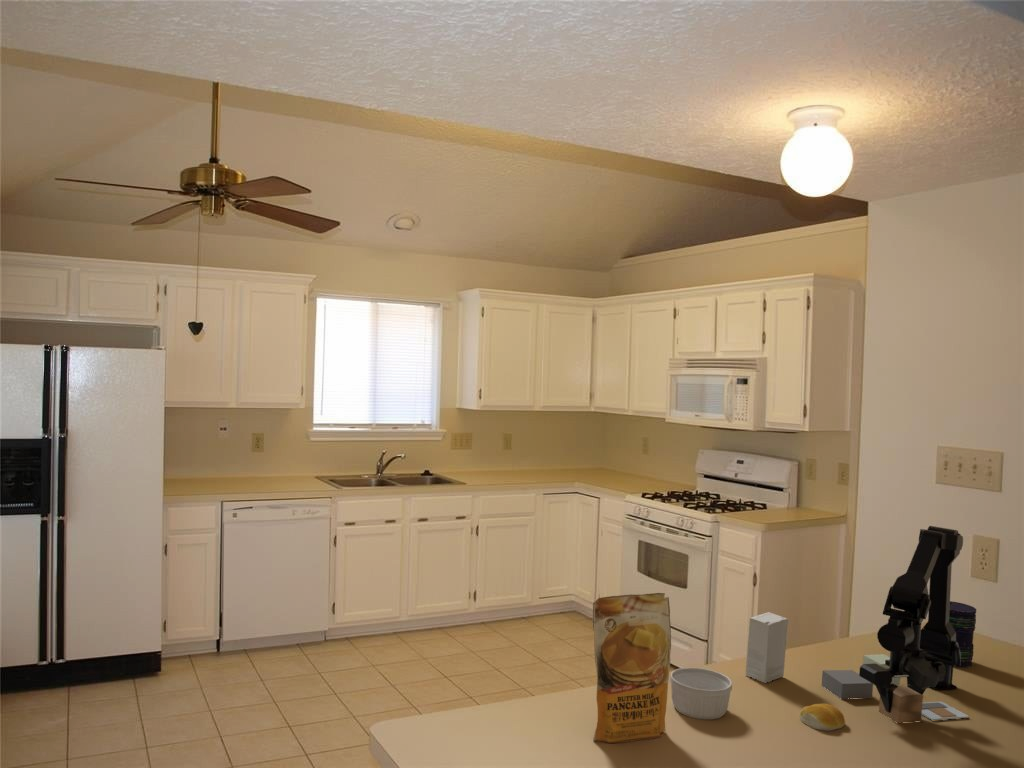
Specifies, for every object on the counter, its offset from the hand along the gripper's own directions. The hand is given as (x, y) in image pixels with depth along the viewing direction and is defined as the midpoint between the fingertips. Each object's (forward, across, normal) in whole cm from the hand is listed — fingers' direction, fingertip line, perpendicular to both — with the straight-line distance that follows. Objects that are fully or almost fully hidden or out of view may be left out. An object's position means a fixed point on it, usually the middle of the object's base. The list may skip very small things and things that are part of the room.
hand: (900, 711), depth 182 cm
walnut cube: (+1, 0, 0) cm, 1 cm away
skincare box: (+2, -18, +25) cm, 31 cm away
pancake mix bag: (+2, -65, +1) cm, 65 cm away
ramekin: (+2, -44, +10) cm, 45 cm away
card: (+1, +11, +1) cm, 11 cm away
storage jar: (+2, +42, +29) cm, 51 cm away
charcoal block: (+2, -3, +14) cm, 14 cm away
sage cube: (+2, +10, +18) cm, 21 cm away
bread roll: (+2, -20, 0) cm, 20 cm away
